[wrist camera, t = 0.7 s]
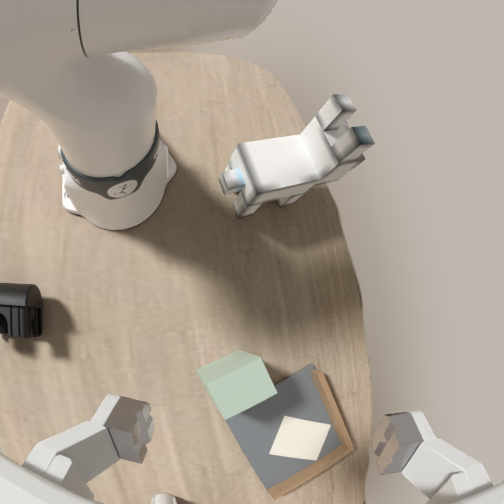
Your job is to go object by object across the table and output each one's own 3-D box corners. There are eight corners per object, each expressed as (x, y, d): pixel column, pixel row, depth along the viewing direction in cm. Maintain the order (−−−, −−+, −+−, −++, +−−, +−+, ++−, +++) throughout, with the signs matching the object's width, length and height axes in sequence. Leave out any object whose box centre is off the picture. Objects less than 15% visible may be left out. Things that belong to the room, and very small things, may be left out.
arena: (220, 411, 40) (225, 417, 37) (311, 363, 46) (320, 365, 43) (268, 491, 39) (274, 499, 36) (345, 444, 44) (354, 449, 41)
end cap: (44, 287, 36) (27, 281, 30) (45, 336, 35) (27, 338, 29) (-7, 284, 33) (-28, 278, 27) (-7, 330, 32) (-29, 331, 26)
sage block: (195, 369, 41) (206, 383, 31) (238, 349, 43) (260, 357, 34) (210, 399, 40) (225, 419, 31) (252, 378, 43) (277, 393, 33)
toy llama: (207, 179, 47) (240, 98, 29) (299, 160, 53) (360, 95, 35) (222, 222, 46) (266, 158, 28) (315, 197, 53) (387, 142, 34)
